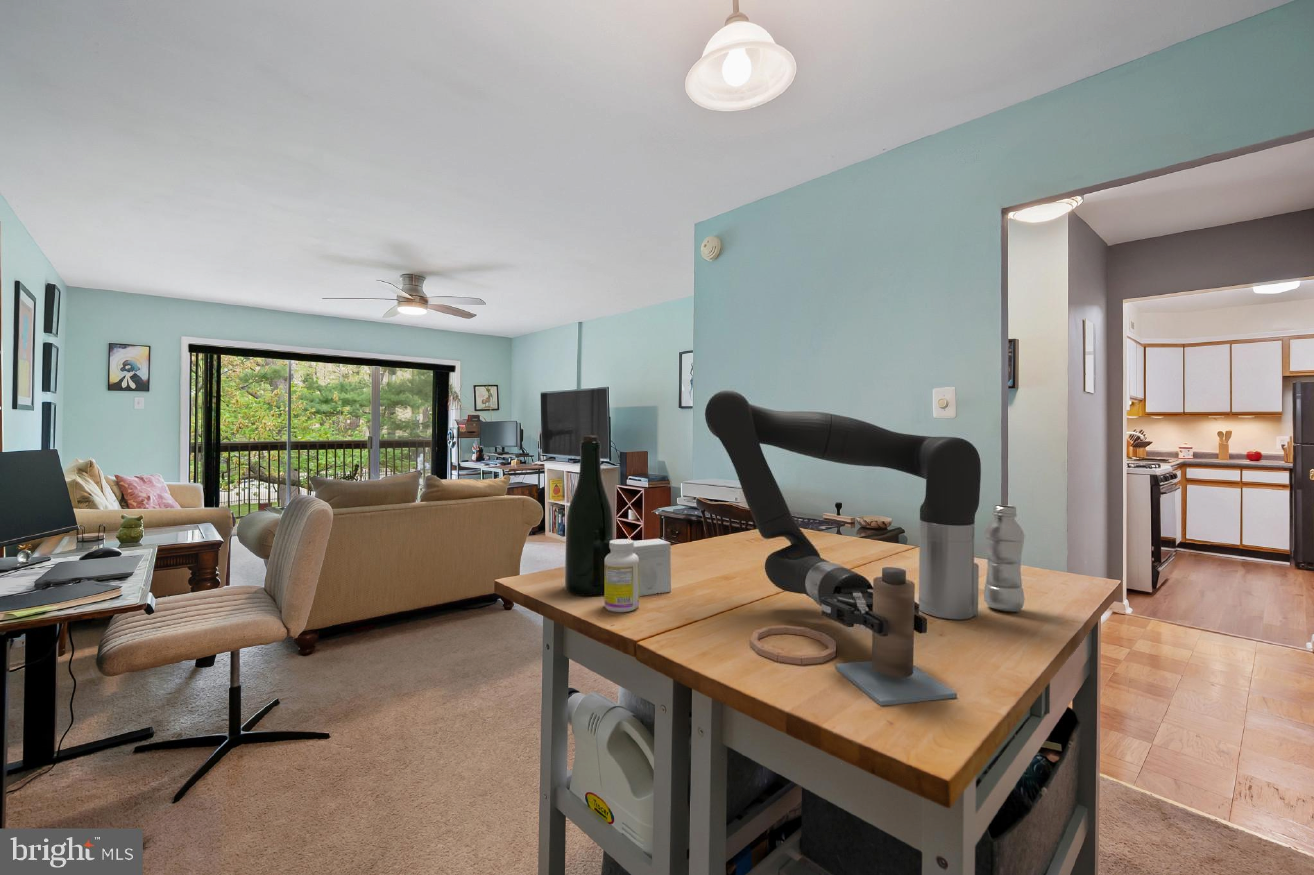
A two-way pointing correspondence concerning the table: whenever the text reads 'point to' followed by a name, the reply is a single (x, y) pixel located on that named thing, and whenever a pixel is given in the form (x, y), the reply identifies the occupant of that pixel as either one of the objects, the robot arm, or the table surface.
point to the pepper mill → (894, 623)
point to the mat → (894, 684)
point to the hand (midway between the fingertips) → (905, 627)
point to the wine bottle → (588, 525)
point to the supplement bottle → (621, 577)
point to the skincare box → (653, 566)
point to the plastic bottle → (1004, 560)
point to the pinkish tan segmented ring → (793, 658)
